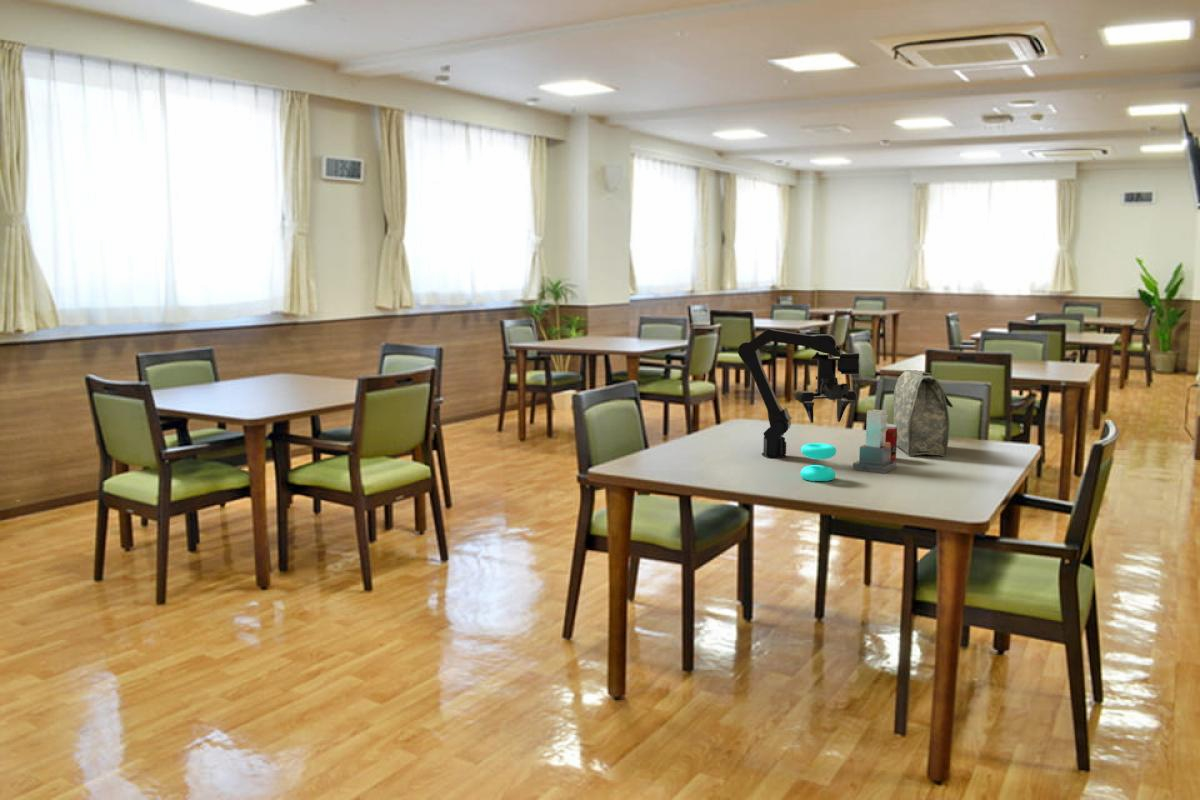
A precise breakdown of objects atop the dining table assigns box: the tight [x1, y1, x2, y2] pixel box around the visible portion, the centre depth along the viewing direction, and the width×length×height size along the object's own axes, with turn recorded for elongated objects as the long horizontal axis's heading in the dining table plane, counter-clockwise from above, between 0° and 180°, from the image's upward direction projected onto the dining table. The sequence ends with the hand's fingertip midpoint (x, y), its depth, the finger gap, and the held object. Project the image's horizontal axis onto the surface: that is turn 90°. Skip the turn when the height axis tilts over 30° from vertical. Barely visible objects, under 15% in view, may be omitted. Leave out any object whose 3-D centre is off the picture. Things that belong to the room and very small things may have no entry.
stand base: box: [852, 442, 898, 474], centre depth 297 cm, size 10×10×8 cm
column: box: [865, 408, 889, 448], centre depth 296 cm, size 5×4×12 cm
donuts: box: [800, 442, 837, 482], centre depth 283 cm, size 10×10×10 cm
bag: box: [892, 369, 954, 457], centre depth 326 cm, size 22×16×27 cm
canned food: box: [885, 423, 898, 461], centre depth 313 cm, size 8×8×11 cm
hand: (825, 422), depth 311 cm, fingers open, 9 cm apart
